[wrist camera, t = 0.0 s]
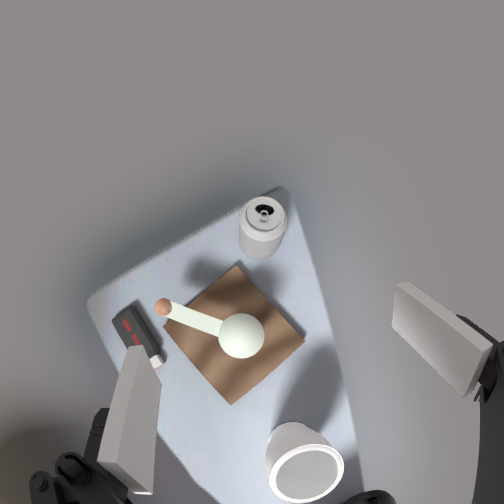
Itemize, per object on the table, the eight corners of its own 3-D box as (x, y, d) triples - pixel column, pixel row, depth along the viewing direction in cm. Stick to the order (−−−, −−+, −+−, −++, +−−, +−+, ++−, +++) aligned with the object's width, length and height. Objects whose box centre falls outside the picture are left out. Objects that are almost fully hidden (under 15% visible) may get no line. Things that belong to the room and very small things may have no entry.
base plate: (303, 341, 47) (305, 341, 46) (231, 403, 43) (230, 405, 42) (236, 267, 51) (236, 265, 50) (164, 326, 47) (162, 326, 46)
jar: (272, 410, 43) (284, 438, 29) (325, 421, 43) (355, 448, 28) (253, 458, 40) (257, 498, 26) (306, 468, 40) (327, 506, 25)
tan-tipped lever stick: (267, 323, 42) (270, 321, 38) (254, 362, 40) (255, 364, 37) (169, 288, 43) (162, 283, 39) (155, 325, 41) (147, 323, 38)
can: (281, 226, 54) (291, 196, 42) (276, 263, 51) (286, 241, 40) (243, 219, 54) (243, 188, 42) (236, 256, 52) (234, 232, 40)
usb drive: (135, 305, 48) (129, 303, 46) (169, 360, 46) (165, 361, 43) (114, 320, 47) (108, 319, 45) (147, 374, 45) (142, 376, 42)
